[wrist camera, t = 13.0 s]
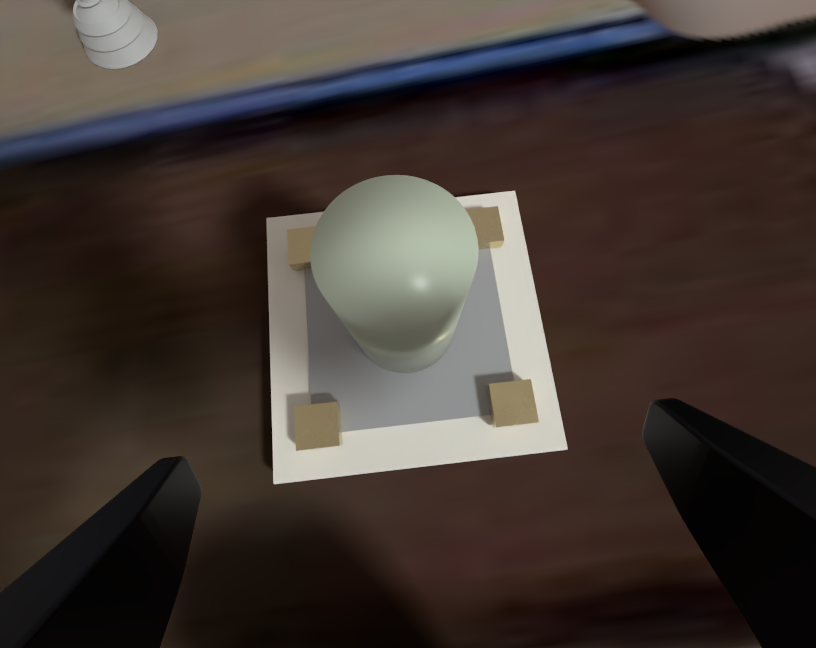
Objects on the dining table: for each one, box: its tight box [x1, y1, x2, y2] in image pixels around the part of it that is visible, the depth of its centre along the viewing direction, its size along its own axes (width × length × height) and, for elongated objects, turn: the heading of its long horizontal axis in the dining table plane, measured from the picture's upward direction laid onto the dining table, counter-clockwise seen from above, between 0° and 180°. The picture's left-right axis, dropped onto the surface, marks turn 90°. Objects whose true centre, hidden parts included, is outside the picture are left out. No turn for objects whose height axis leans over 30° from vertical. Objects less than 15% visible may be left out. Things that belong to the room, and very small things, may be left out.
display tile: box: [266, 191, 568, 484], centre depth 21 cm, size 14×14×2 cm
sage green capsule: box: [310, 175, 479, 373], centre depth 16 cm, size 5×5×9 cm
